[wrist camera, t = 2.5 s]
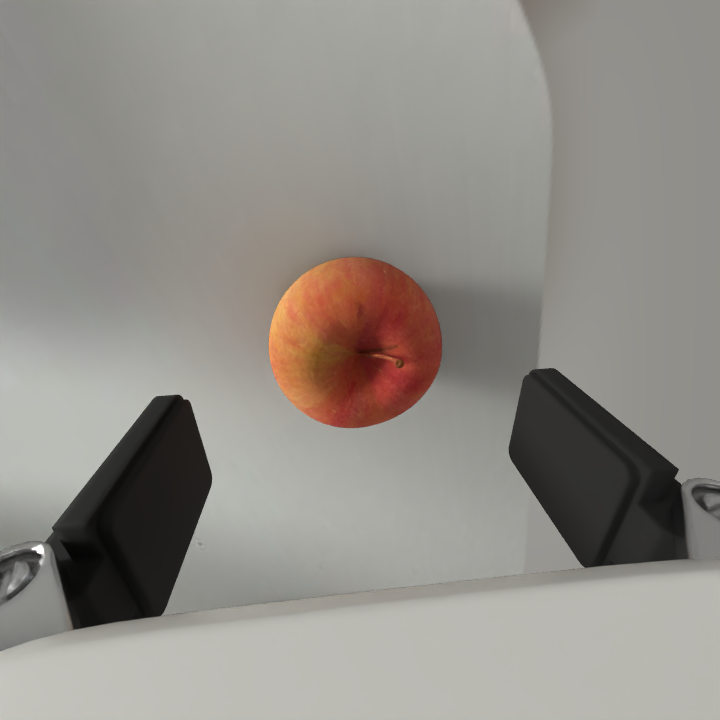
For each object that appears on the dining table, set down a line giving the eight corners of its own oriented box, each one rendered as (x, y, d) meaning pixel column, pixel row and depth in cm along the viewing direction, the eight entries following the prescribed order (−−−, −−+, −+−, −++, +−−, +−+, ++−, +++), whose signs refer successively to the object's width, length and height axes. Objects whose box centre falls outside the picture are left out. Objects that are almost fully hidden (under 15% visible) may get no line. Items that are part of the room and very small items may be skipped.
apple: (252, 311, 19) (206, 389, 12) (353, 209, 17) (372, 229, 10) (347, 393, 21) (357, 497, 14) (442, 314, 20) (507, 388, 13)
